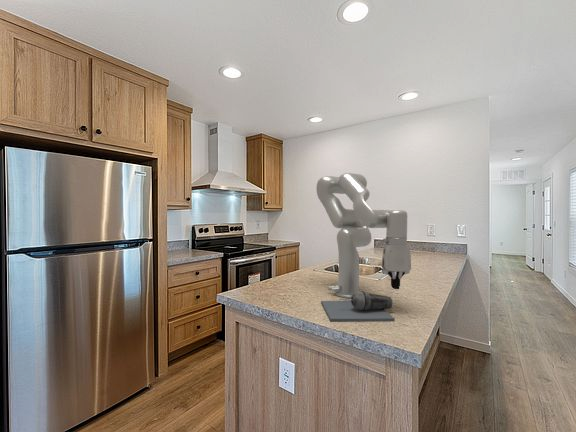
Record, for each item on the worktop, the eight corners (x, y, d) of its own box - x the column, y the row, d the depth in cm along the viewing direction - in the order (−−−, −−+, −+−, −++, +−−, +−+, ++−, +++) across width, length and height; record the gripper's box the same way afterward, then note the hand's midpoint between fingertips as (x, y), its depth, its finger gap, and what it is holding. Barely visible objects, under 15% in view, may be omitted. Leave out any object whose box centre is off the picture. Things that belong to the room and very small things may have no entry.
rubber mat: (330, 321, 97) (330, 318, 97) (321, 303, 117) (321, 300, 117) (394, 321, 98) (394, 318, 98) (374, 302, 118) (374, 300, 118)
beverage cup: (394, 314, 103) (343, 310, 100) (384, 311, 111) (336, 307, 108) (394, 294, 105) (344, 290, 102) (384, 292, 112) (337, 288, 109)
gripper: (381, 242, 104) (380, 291, 104) (420, 243, 105) (418, 291, 105) (374, 240, 111) (373, 285, 112) (410, 241, 112) (409, 285, 113)
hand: (395, 288), depth 108 cm, fingers closed
